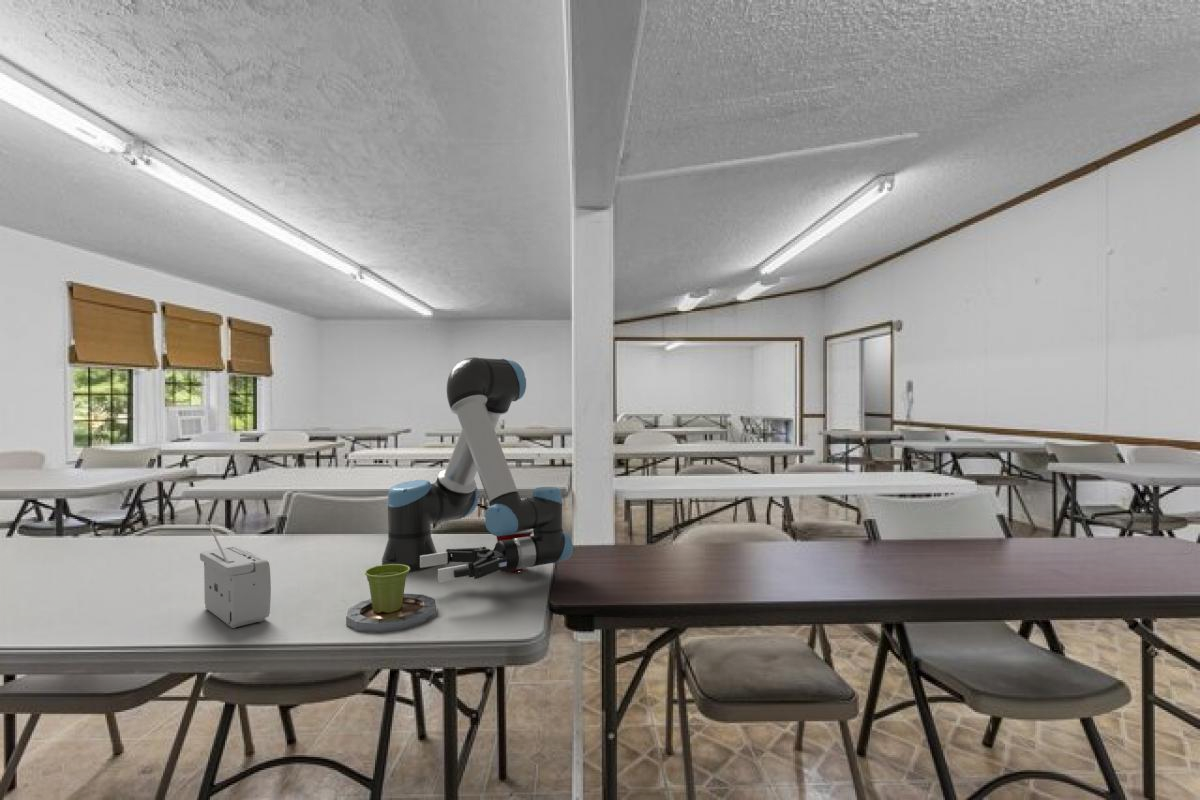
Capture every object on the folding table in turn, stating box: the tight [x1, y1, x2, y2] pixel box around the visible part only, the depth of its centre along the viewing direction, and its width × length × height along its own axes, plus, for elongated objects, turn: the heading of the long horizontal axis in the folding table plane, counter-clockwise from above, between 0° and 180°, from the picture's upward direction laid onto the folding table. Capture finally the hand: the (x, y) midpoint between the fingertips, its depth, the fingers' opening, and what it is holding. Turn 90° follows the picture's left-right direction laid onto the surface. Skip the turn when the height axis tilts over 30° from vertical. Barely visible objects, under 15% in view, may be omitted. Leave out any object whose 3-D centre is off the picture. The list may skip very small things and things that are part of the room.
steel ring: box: [345, 593, 437, 634], centre depth 127 cm, size 18×18×2 cm
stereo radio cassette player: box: [199, 520, 272, 629], centre depth 129 cm, size 21×8×20 cm, turn 48°
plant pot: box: [364, 564, 410, 613], centre depth 129 cm, size 9×9×9 cm
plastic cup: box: [496, 529, 533, 573], centre depth 160 cm, size 11×11×12 cm
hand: (428, 568), depth 134 cm, fingers open, 13 cm apart
